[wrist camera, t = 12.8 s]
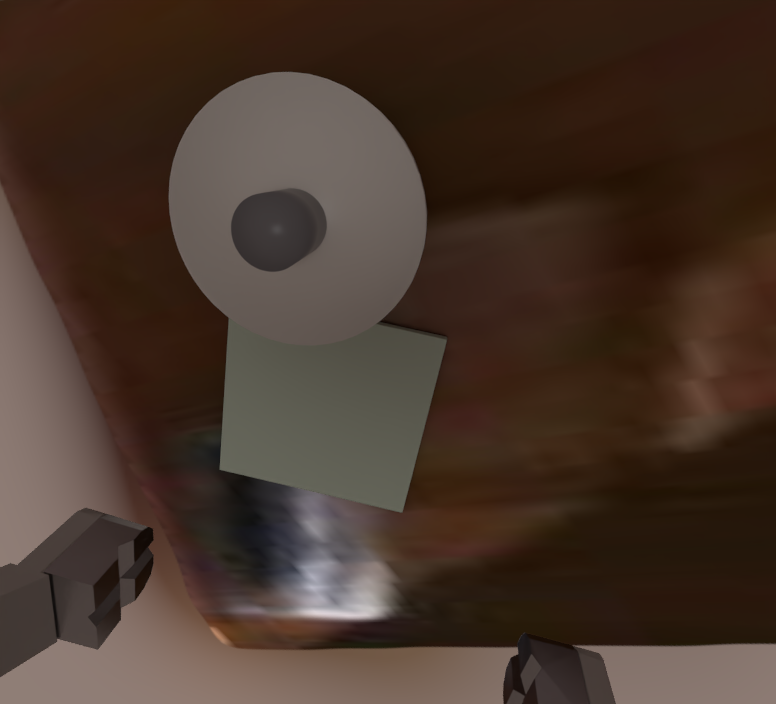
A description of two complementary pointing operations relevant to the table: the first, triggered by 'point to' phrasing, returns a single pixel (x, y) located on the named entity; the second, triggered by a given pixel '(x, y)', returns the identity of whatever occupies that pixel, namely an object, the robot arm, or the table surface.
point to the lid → (297, 208)
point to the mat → (330, 411)
